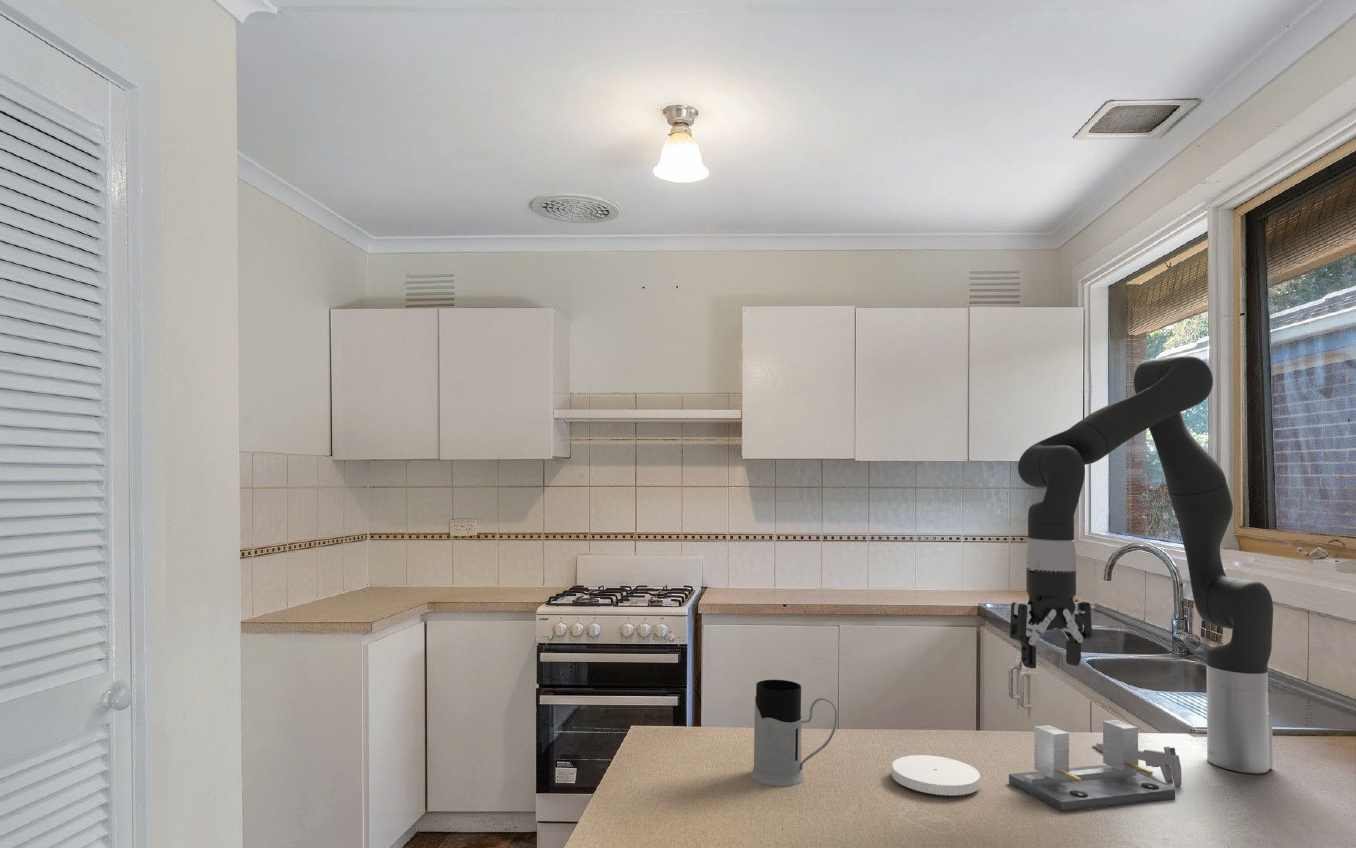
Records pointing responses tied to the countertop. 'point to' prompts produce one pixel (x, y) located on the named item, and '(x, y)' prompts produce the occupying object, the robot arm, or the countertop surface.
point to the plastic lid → (936, 775)
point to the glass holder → (780, 733)
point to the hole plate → (1092, 788)
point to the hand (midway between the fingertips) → (1051, 666)
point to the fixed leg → (1121, 746)
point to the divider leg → (1052, 752)
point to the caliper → (1160, 762)
